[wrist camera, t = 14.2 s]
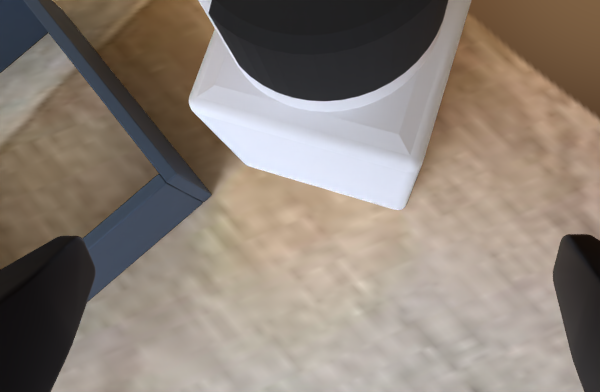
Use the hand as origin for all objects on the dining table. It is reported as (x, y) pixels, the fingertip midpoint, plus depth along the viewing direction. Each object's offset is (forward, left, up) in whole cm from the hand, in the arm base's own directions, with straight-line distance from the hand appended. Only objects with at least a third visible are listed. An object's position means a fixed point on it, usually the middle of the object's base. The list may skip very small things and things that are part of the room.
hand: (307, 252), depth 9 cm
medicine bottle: (+7, 0, -11) cm, 13 cm away
